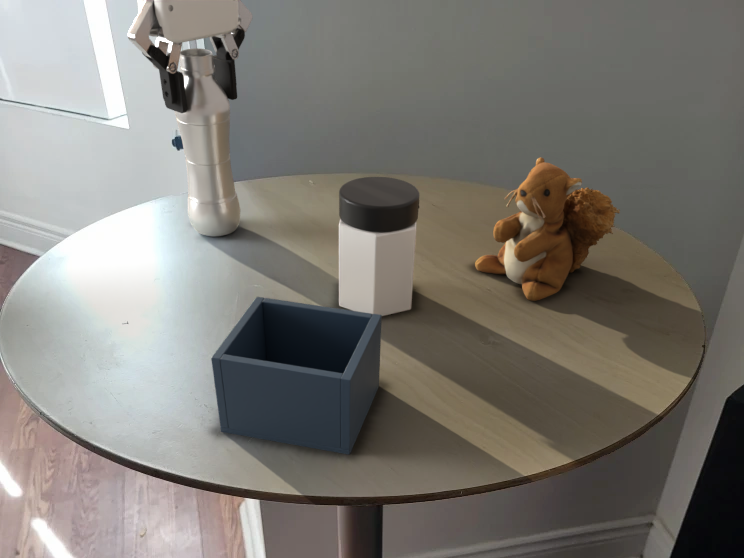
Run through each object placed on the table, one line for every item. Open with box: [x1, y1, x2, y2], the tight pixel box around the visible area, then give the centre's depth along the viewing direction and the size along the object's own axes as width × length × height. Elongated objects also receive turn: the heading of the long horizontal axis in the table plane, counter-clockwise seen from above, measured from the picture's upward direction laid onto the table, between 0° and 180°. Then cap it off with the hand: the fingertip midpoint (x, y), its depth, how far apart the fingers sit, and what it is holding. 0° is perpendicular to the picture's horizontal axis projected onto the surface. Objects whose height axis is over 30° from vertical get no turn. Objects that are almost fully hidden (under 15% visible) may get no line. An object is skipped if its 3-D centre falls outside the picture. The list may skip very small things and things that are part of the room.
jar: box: [338, 176, 420, 317], centre depth 82 cm, size 9×8×12 cm
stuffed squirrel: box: [474, 157, 621, 302], centre depth 87 cm, size 10×14×13 cm
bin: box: [210, 296, 383, 455], centre depth 68 cm, size 12×11×8 cm
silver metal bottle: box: [173, 48, 241, 237], centre depth 91 cm, size 6×7×20 cm
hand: (201, 101), depth 87 cm, fingers closed on silver metal bottle, 6 cm apart
